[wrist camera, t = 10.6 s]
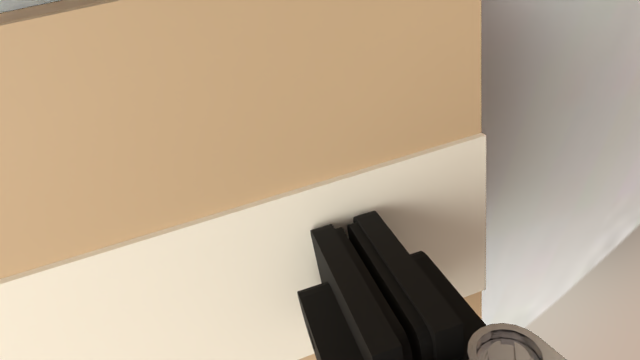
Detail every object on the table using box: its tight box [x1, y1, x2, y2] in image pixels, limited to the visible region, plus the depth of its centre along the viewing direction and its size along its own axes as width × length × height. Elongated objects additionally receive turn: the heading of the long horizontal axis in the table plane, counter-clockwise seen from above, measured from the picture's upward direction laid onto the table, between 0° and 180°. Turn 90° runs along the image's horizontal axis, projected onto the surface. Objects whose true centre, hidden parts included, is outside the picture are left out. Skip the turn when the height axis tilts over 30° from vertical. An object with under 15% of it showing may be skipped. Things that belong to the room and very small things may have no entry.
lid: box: [0, 0, 486, 360], centre depth 11 cm, size 14×14×1 cm
